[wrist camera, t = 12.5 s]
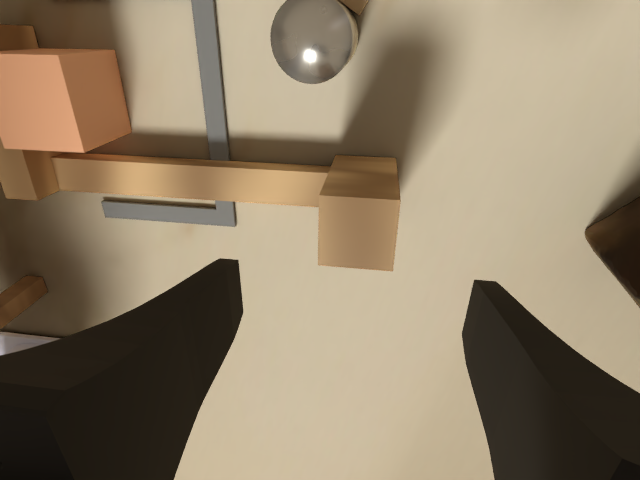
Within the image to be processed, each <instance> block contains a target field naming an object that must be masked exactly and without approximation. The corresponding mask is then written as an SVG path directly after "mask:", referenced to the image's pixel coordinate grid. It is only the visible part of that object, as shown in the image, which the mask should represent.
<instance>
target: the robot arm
mask: <svg viewBox="0 0 640 480" xmlns="http://www.w3.org/2000/svg"><path fill="white" fill-rule="evenodd" d="M242 315H243V303H242V293H241V283H240V273H239V263H238V260H232V259H218V260H216V261H214V262H212V263H211V264H209V265H208V266H206V267H204V268H203V269H201V270H200V271H198V272H196V273H195V274H193V275H192V276H190V277H189V278H187V279H185V280H184V281H182V282H181V283H179V284H177V285H176V286H174V287H173V288H171V289H169V290H167V291H166V292H164V293H162V294H160V295H159V296H157V297H155V298H153V299H152V300H150V301H148V302H146V303H144V304H143V305H141V306H139V307H137V308H135V309H133V310H131V311H129V312H126V313H124V314H122V315H120V316H118V317H116V318H113V319H111V320H109V321H107V322H104V323H101V324H99V325H96V326H94V327H91V328H89V329H86V330H83V331H81V332H78V333H76V334H73V335H70V336H67V337H64V338H52V337H44V336H35V335H26V334H17V333H8V332H0V480H174V477H175V474H176V471H177V468H178V465H179V463H180V460H181V457H182V454H183V451H184V449H185V446H186V443H187V440H188V438H189V435H190V432H191V430H192V427H193V424H194V422H195V419H196V417H197V414H198V411H199V409H200V407H201V405H202V403H203V400H204V398H205V396H206V394H207V392H208V390H209V388H210V386H211V384H212V382H213V380H214V378H215V376H216V374H217V373H218V371H219V369H220V367H221V365H222V363H223V361H224V359H225V357H226V355H227V353H228V351H229V349H230V347H231V345H232V343H233V340H234V338H235V335H236V333H237V330H238V327H239V324H240V321H241V318H242ZM462 338H463V346H464V353H465V360H466V365H467V369H468V373H469V376H470V380H471V384H472V387H473V391H474V394H475V398H476V401H477V405H478V408H479V412H480V415H481V419H482V422H483V426H484V429H485V433H486V437H487V441H488V445H489V450H490V455H491V461H492V467H493V473H494V478H495V480H640V393H638V392H637V391H635V390H633V389H632V388H630V387H628V386H627V385H625V384H623V383H622V382H620V381H619V380H617V379H615V378H614V377H612V376H611V375H609V374H608V373H606V372H605V371H603V370H602V369H600V368H599V367H598V366H596V365H595V364H593V363H592V362H590V361H589V360H587V359H586V358H585V357H583V356H582V355H580V354H579V353H578V352H576V351H575V350H574V349H572V348H571V347H570V346H569V345H567V344H566V343H565V342H564V341H562V340H561V339H560V338H559V337H557V336H556V335H555V334H554V333H553V332H551V331H550V330H549V329H548V328H547V327H545V326H544V325H543V324H542V323H541V322H540V321H539V320H538V319H536V318H535V317H534V316H533V315H532V314H531V313H530V312H529V311H528V310H526V309H525V308H524V307H523V306H522V305H521V304H520V303H519V302H518V301H517V300H516V299H515V298H514V297H513V296H511V295H510V294H509V293H508V292H507V291H506V290H505V289H504V288H503V287H502V286H501V285H499V284H498V283H497V282H495V281H483V280H474V283H473V288H472V292H471V296H470V301H469V305H468V309H467V314H466V318H465V322H464V327H463V331H462Z"/></svg>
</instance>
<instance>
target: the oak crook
mask: <svg viewBox="0 0 640 480" xmlns="http://www.w3.org/2000/svg"><path fill="white" fill-rule="evenodd" d="M37 48H39V47H38V44H37V40H36V36H35V32H34V29H33V26H23V25H0V51H9V50H23V49H37ZM0 182H1V185H2V188H3V191H4V194H5V197H6V198H9V199H23V200H40V199H42V198H44V197H46V196H48V195H51V194H53V193H55V192H57V191H59V190H64V191H79V192H94V193H110V194H125V195H140V196H156V197H171V198H186V199H202V200H217V201H232V202H248V203H263V204H278V205H294V206H309V207H319V232H318V265H322V266H334V267H346V268H359V269H371V270H383V271H393V265H394V256H395V247H396V238H397V229H398V219H399V210H400V201H401V200H400V191H399V182H398V173H397V164H396V158H387V157H366V156H346V155H335V158H334V160H333V163H332V165H331V166H315V165H296V164H277V163H258V162H240V161H221V160H202V159H183V158H164V157H145V156H127V155H108V154H89V153H70V152H61V151H42V150H23V149H4V146H3V143H2V140H1V138H0Z"/></svg>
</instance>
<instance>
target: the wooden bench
mask: <svg viewBox="0 0 640 480" xmlns="http://www.w3.org/2000/svg"><path fill="white" fill-rule="evenodd" d="M47 292H48V291H47V288H46V285H45V283H44V280H43V277H36V276H25V277H24V278H22V279H21V280H19V281H18V282H16V283H15V284H14V285H12V286H11V287H9V288H8V289H7V290H5V291H4V292H2V293H1V294H0V329H2V328H3V327H4V326H5V325H7V324H8V323H9V322H10V321H12V320H13V319H14V318H15V317H17V316H18V315H19V314H20V313H22V312H23V311H24V310H25V309H27V308H28V307H29V306H30V305H32V304H33V303H34V302H36V301H37V300H38V299H39V298H41V297H42V296H43V295H44V294H46V293H47Z"/></svg>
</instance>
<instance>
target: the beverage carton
mask: <svg viewBox="0 0 640 480" xmlns="http://www.w3.org/2000/svg"><path fill="white" fill-rule="evenodd" d="M585 237H586V239H587V241H588V243H589V244H590V246H591V247H592V249H593V251H594V252H595V253H596V254H597V255H598V257H599V258H600V259H601V260H602V262H603V263H604V264H605V266H606V267H607V268H608V269H609V270H610V271H611V273H612V274H613V275H614V276H615V277H616V279H617V280H618V281H619V282H620V284H621V285H622V286H623V287H624V289H625V290H626V291H627V292H628V294H629V295H630V296H631V297H632V298H633V300H634V301H635V302H636V304H637V305H638V306H639V308H640V197H639V198H637V199H636V200H634V201H633V202H631V203H630V204H628V205H626V206H624V207H622V208H620V209H619V210H617V211H616V212H614V213H613V214H611V215H610V216H608V217H606V218H605V219H603V220H601V221H599V222H597V223H596V224H594V225H592V226H591V227H589V228H588V229H586V231H585Z"/></svg>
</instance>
